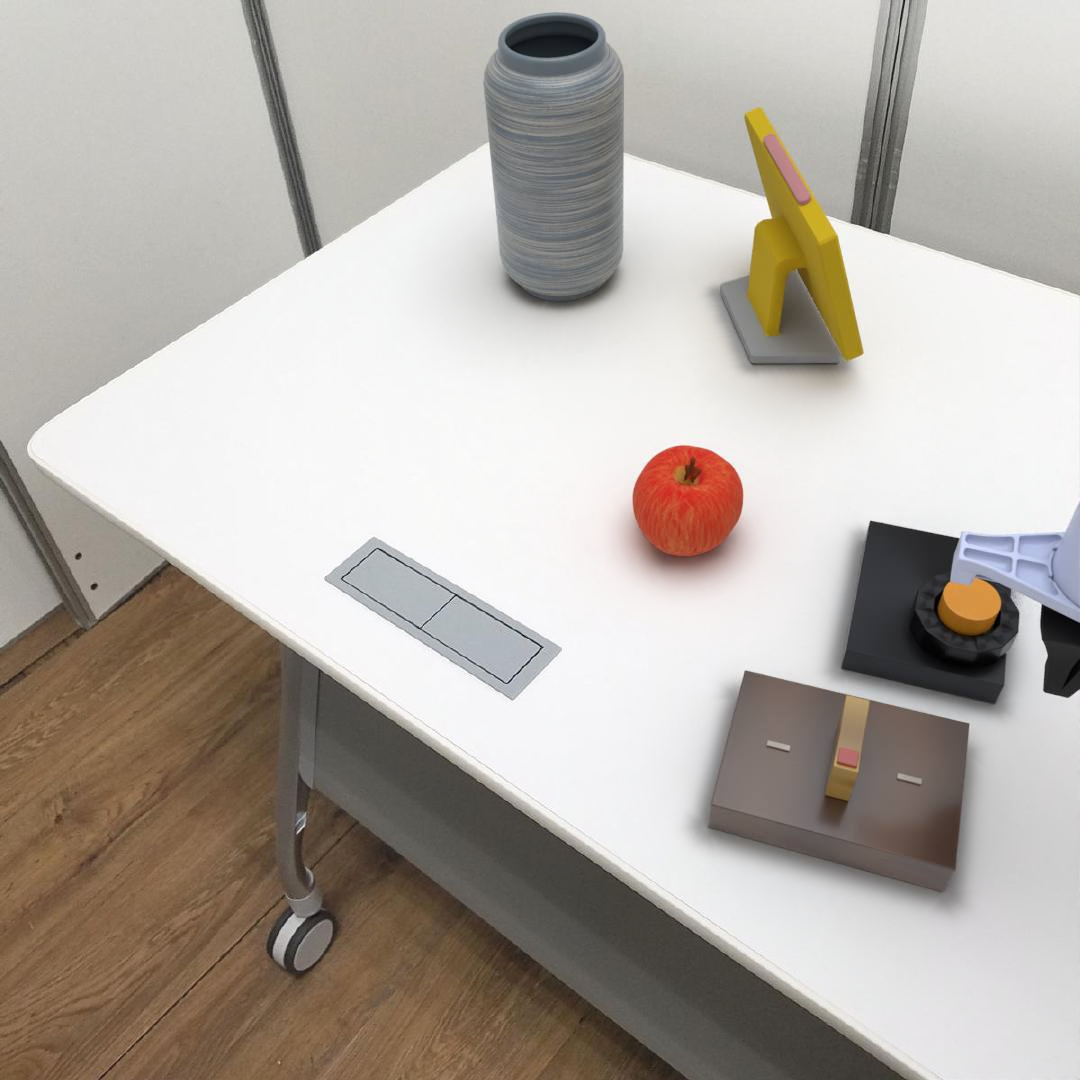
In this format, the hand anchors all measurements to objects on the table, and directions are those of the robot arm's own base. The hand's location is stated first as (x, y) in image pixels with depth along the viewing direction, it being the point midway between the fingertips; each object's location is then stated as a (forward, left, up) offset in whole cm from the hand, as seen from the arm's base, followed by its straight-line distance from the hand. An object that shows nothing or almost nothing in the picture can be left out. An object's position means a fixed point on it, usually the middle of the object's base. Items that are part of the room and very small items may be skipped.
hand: (1057, 680), depth 61 cm
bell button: (+4, -9, -7) cm, 12 cm away
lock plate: (+10, +4, -10) cm, 15 cm away
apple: (+24, -14, -11) cm, 30 cm away
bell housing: (+6, -11, -10) cm, 16 cm away
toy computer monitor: (+22, -41, -11) cm, 48 cm away
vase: (+43, -43, -11) cm, 62 cm away
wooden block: (+10, +4, -7) cm, 13 cm away
